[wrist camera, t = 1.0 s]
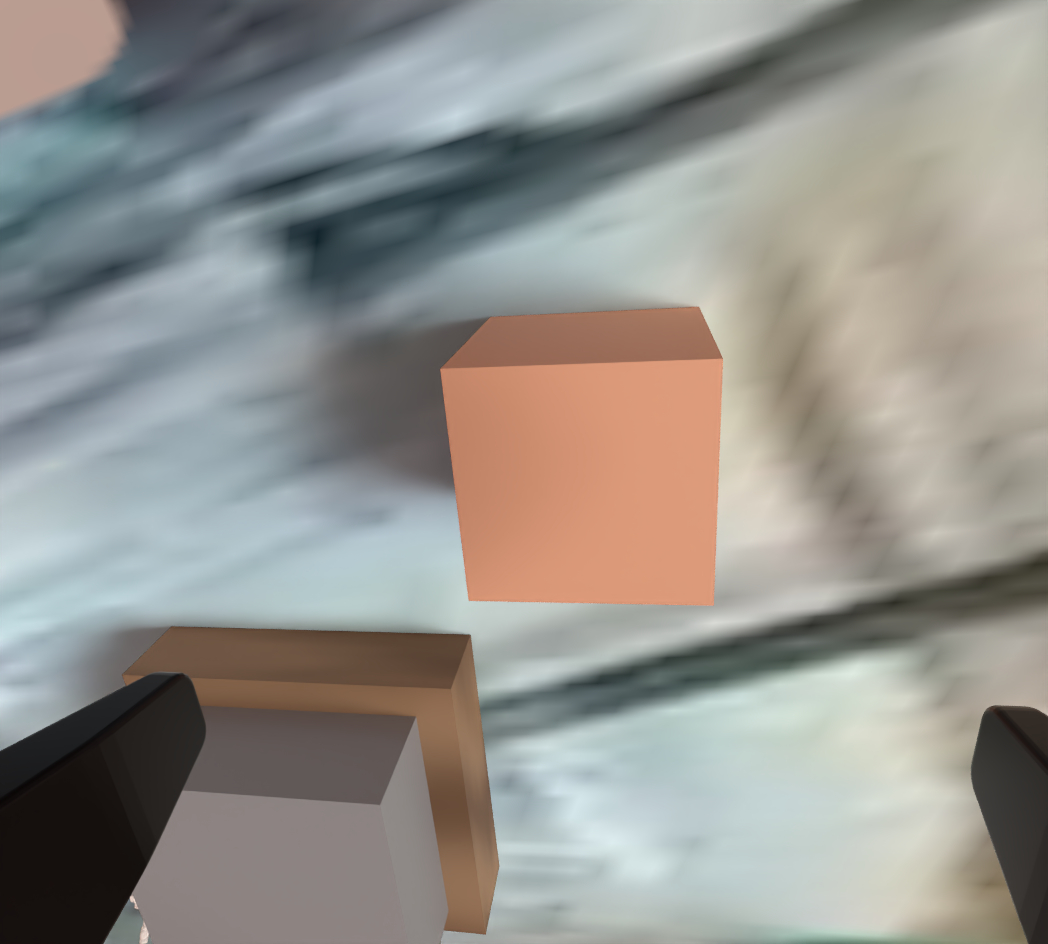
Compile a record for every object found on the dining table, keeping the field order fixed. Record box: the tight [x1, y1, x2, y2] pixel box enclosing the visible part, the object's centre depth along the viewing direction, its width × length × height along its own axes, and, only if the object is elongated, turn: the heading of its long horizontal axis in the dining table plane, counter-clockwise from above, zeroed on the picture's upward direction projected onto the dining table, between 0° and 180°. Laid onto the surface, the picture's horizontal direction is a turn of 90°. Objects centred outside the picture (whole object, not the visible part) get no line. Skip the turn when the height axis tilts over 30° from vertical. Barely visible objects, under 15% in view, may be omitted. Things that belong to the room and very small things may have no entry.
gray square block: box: [132, 706, 448, 944], centre depth 20 cm, size 8×8×3 cm
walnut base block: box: [122, 626, 499, 934], centre depth 23 cm, size 10×10×3 cm
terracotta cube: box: [440, 307, 723, 606], centre depth 16 cm, size 5×5×5 cm
